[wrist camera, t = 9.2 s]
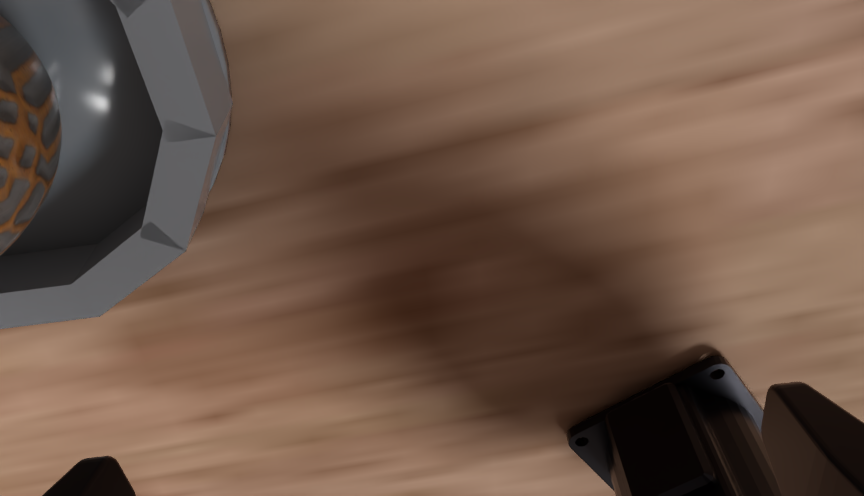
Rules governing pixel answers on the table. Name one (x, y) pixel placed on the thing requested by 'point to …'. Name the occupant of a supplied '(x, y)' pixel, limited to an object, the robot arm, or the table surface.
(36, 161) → the vase
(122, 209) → the ring dish
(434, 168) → the table surface
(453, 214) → the table surface
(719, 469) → the robot arm
